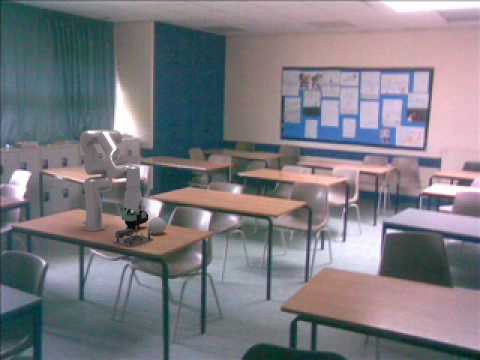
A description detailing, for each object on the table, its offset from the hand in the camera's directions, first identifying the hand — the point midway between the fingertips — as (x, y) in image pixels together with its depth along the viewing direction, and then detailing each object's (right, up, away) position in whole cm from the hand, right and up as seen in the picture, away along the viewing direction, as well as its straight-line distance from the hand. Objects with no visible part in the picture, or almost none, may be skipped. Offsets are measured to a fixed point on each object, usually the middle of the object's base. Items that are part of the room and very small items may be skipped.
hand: (134, 220), depth 299 cm
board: (0, +1, 0) cm, 1 cm away
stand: (-8, -10, +14) cm, 19 cm away
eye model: (+10, -10, +20) cm, 25 cm away
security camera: (-5, -8, +29) cm, 30 cm away
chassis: (-1, -12, +2) cm, 12 cm away
